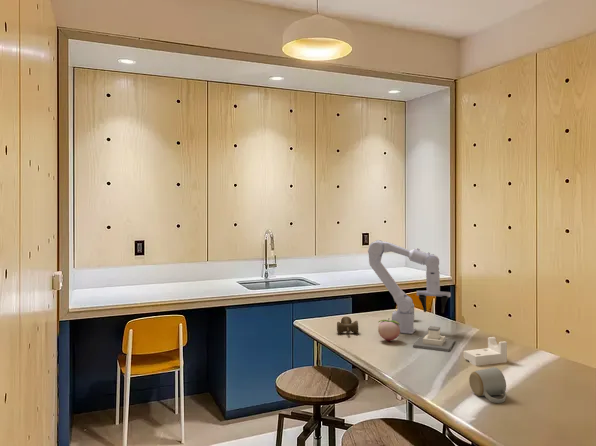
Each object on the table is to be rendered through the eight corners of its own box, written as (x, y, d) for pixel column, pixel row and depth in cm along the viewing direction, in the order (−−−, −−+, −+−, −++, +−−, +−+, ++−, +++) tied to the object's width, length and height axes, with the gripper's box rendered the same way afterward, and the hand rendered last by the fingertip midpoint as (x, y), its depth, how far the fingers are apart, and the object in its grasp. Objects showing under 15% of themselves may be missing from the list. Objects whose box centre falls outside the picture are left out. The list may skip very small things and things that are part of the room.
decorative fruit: (376, 343, 192) (376, 319, 192) (378, 338, 200) (378, 315, 200) (400, 345, 190) (399, 320, 189) (401, 339, 198) (400, 316, 197)
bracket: (494, 356, 173) (493, 336, 173) (507, 362, 166) (506, 342, 166) (463, 360, 170) (463, 340, 170) (475, 366, 163) (475, 345, 163)
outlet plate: (412, 347, 186) (412, 339, 186) (420, 338, 199) (420, 331, 199) (448, 351, 180) (448, 344, 180) (454, 342, 192) (454, 335, 192)
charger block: (428, 342, 189) (428, 328, 188) (430, 340, 192) (430, 326, 192) (438, 344, 187) (438, 329, 186) (440, 341, 190) (440, 327, 190)
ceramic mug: (467, 391, 141) (467, 366, 140) (491, 388, 143) (491, 363, 142) (488, 405, 130) (488, 379, 130) (514, 402, 132) (514, 376, 132)
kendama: (356, 327, 222) (359, 337, 203) (336, 327, 223) (337, 338, 203) (355, 314, 223) (358, 323, 203) (335, 315, 223) (336, 324, 203)
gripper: (414, 282, 206) (415, 312, 206) (448, 283, 199) (449, 315, 200) (418, 280, 212) (419, 309, 213) (451, 281, 206) (451, 311, 206)
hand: (433, 312), depth 207 cm, fingers open, 7 cm apart
